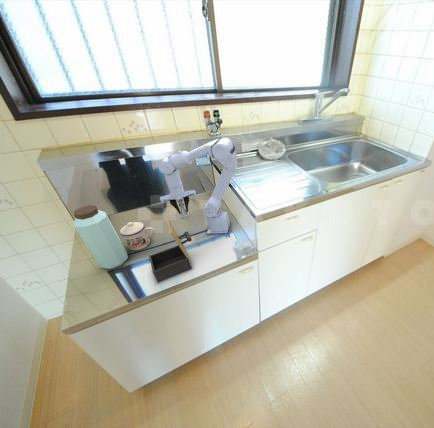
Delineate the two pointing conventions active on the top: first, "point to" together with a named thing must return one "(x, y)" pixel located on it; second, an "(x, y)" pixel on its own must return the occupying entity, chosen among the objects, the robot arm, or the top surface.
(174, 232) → the tan elongated piece
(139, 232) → the teacup with lid
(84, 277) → the top surface
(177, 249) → the black open-top bin
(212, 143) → the robot arm
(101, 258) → the water bottle
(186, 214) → the chess piece
